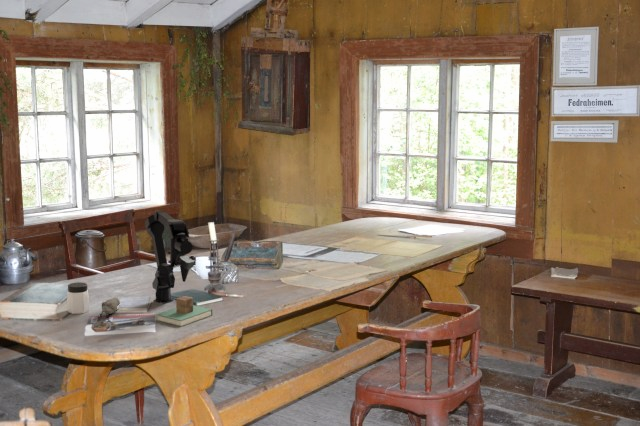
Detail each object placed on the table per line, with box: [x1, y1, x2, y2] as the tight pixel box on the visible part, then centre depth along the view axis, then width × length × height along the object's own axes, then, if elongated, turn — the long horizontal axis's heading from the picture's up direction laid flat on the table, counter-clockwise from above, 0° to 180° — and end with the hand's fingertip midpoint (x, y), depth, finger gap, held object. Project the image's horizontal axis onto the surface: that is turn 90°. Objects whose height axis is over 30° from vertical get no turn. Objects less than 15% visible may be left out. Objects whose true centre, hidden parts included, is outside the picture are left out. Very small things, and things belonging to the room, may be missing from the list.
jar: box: [66, 281, 90, 315], centre depth 359 cm, size 9×8×12 cm
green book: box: [155, 304, 213, 327], centre depth 354 cm, size 20×14×3 cm
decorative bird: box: [98, 297, 121, 318], centre depth 356 cm, size 5×16×8 cm, turn 172°
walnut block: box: [175, 295, 194, 314], centre depth 353 cm, size 5×5×6 cm
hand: (176, 283), depth 363 cm, fingers open, 9 cm apart
